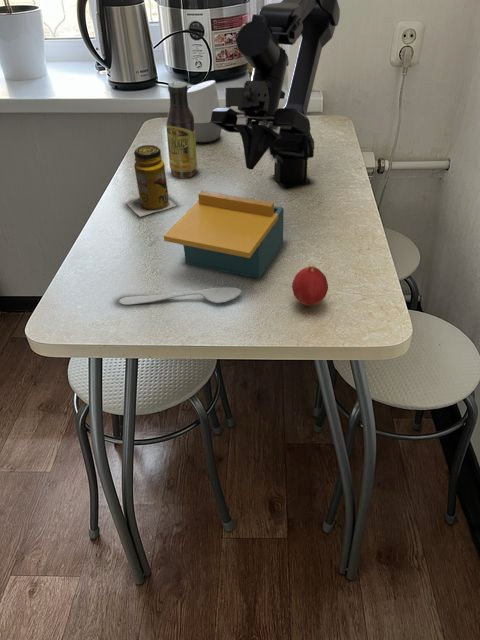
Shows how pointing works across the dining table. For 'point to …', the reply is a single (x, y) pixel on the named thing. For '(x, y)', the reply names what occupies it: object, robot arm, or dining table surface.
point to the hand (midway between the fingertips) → (249, 168)
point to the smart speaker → (204, 110)
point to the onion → (310, 286)
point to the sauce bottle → (181, 132)
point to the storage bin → (237, 263)
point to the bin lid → (224, 224)
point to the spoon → (210, 294)
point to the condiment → (150, 182)
